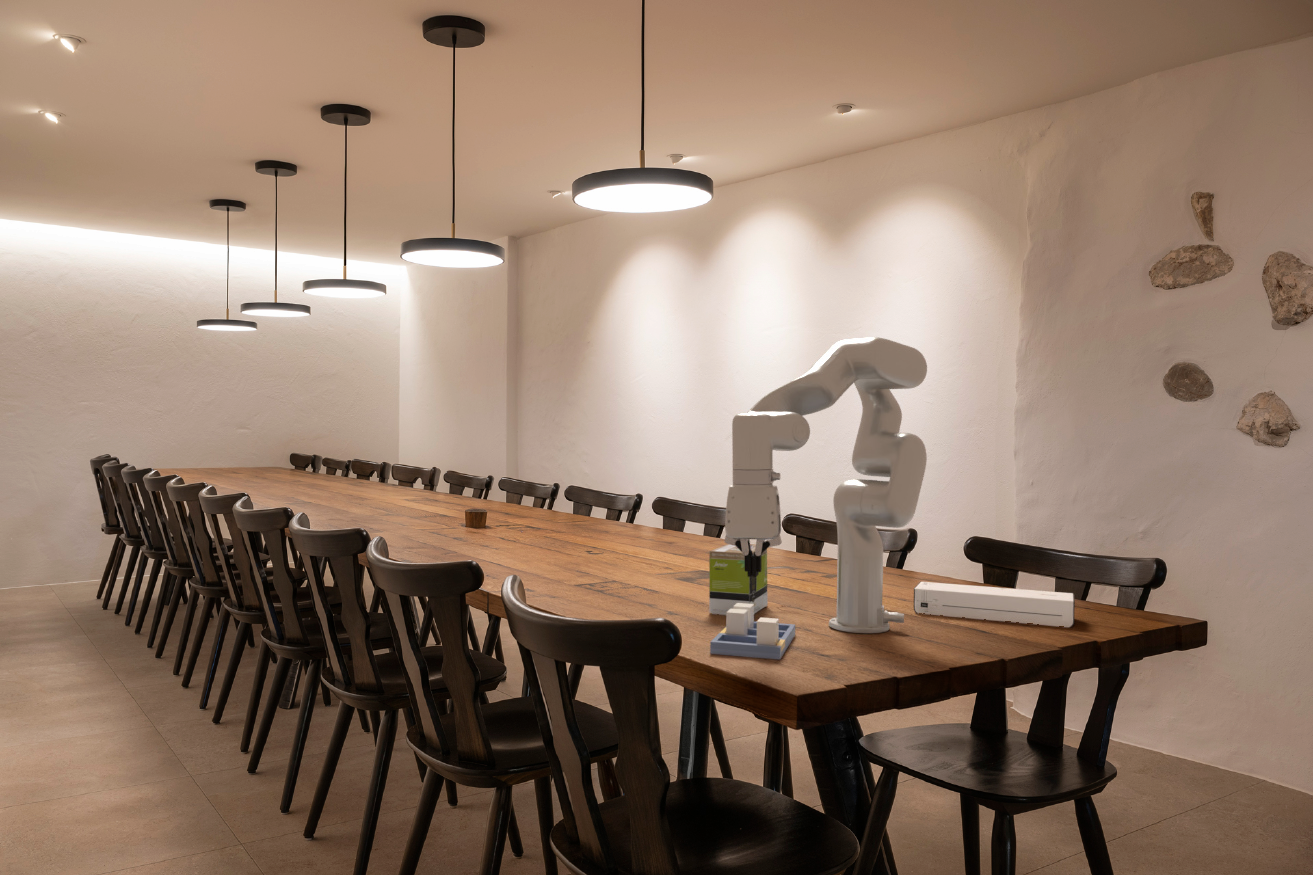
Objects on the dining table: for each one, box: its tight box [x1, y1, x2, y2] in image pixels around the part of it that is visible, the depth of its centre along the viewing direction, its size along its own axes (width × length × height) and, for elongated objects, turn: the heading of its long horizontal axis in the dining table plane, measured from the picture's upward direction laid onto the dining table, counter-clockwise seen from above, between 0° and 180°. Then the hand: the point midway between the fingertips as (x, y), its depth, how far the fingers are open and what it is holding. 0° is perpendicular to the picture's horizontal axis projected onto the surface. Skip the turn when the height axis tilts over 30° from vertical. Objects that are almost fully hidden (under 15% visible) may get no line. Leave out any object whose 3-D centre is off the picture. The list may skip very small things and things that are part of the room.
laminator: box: [913, 581, 1076, 628], centre depth 208 cm, size 34×12×6 cm, turn 66°
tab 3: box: [756, 617, 780, 645], centre depth 169 cm, size 4×4×5 cm
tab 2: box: [733, 603, 755, 628], centre depth 183 cm, size 4×4×5 cm
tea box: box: [708, 543, 769, 616], centre depth 210 cm, size 15×10×15 cm, turn 157°
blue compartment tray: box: [709, 620, 796, 661], centre depth 176 cm, size 13×21×2 cm, turn 164°
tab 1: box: [725, 609, 748, 635], centre depth 177 cm, size 4×4×5 cm
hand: (753, 575), depth 170 cm, fingers closed
